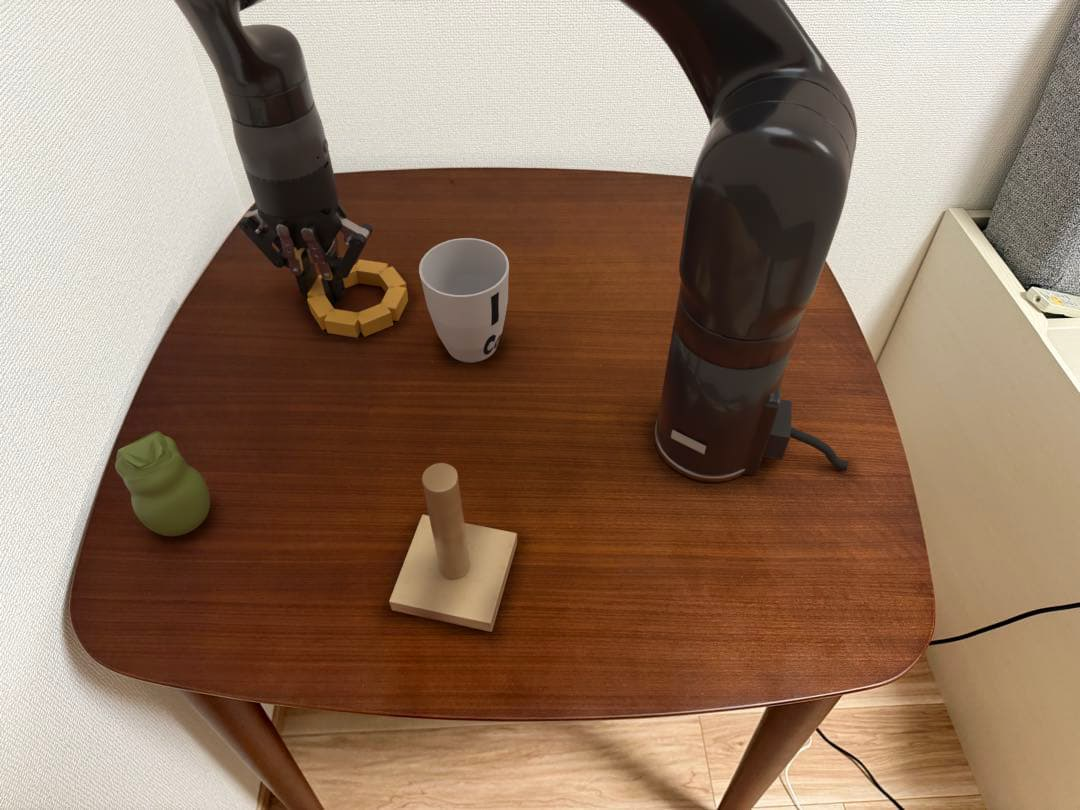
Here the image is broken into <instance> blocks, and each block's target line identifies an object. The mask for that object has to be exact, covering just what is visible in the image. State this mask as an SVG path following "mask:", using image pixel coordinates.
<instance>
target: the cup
mask: <svg viewBox="0 0 1080 810" xmlns="http://www.w3.org/2000/svg"><path fill="white" fill-rule="evenodd" d="M418 273H419V278H420V282H421V285H422V286H421V287H422V290H423V295H424V299H425V304H426V307H427V310H428V313H429V315H430V318H431V322H432V323H433V326H434V328H435V331H436V334H437V336H438V338H439V339H440V341H441V342H442V344H443V346H444V347H445V350H447V352H448V353H449V354H450V356H451V357H452V358H453V359H455V360H457V361H460V362H463V363H477V362H481V361H484V360H486V359H488V358H490V357H492V355H493V354H494V353H495V352H496V350H497V348H498V345H499V342H500V339H501V337H502V334H503V332H504V328H505V321H506V315H507V308H508V303H509V278H510V277H509V275H510V274H509V273H510V262H509V258H508V256H507V254H506V253H505V252H504V251H503V249H501V248H500V247H499V246H497V245H496V244H494V243H493V242H490V241H487V240H485V239H480V238H474V237H463V238H454V239H449V240H446V241H443V242H441V243H438V244H437V245H434V246H433V247H432V248H430V249H429V250H428V251H427V252H426V253H425V254H423V257H421V260H420V262H419V265H418Z"/></svg>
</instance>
